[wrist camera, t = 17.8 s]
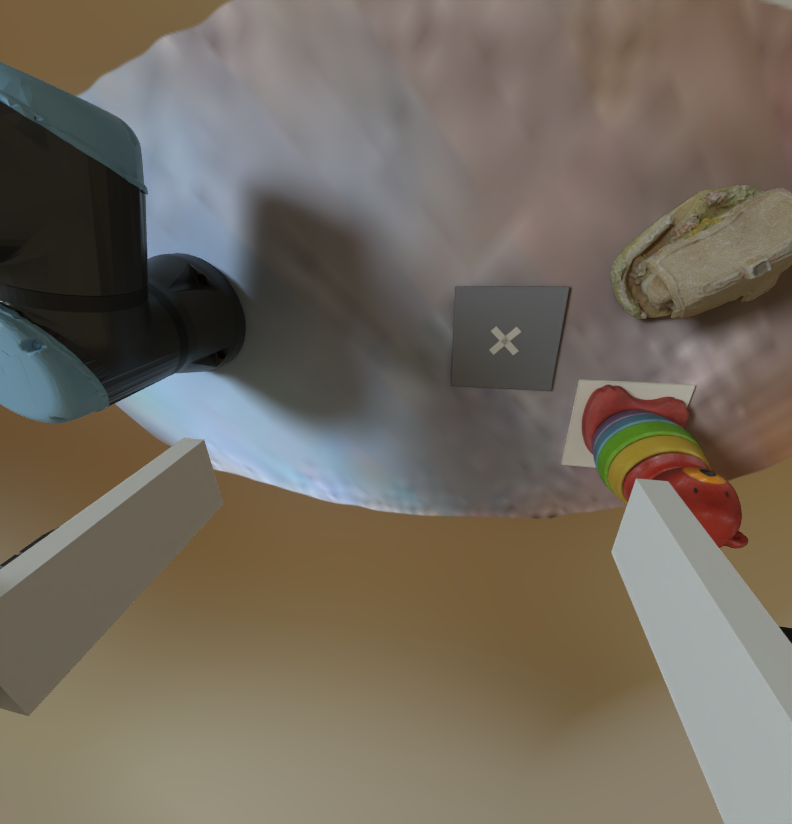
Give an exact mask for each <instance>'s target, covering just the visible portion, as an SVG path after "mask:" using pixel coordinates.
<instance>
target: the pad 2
mask: <svg viewBox="0 0 792 824" xmlns="http://www.w3.org/2000/svg"><path fill="white" fill-rule="evenodd" d="M607 384H610V385H612V386H621V387H622V388H623V389H625V390H626V392H627V393H629V394H630V395H631V396H633V397H635V398H638V399H643V400H653V399H658V398H662V397H674V398H675V399H679V400H682V401H683V402H684V403H685V404H686V407H688V404H689V401H690V399H691V396H692V393H693V391H694V388H695V385H694V384H677V383H654V382H631V381H609V380H586V379H579V381H578V386H577V391H576V395H575V400H574V405H573V409H572V414H571V419H570V423H569V428H568V432H567V437H566V442H565V446H564V451H563V456H562V460H561V465H571V466H583V467H594V468H596V465H595V462H594V456H593V455H592V454H591V453H590V451H589V450H588V449H587V447H586V445H585V443H584V440H583V436H582V416H583V412H584V409H585V406H586V403H587V401H588V399H589V397H590V395H591V394H592V393H593V392H594V391H595V390H596V389H598V388H601V387H603V386H605V385H607Z"/></svg>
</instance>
